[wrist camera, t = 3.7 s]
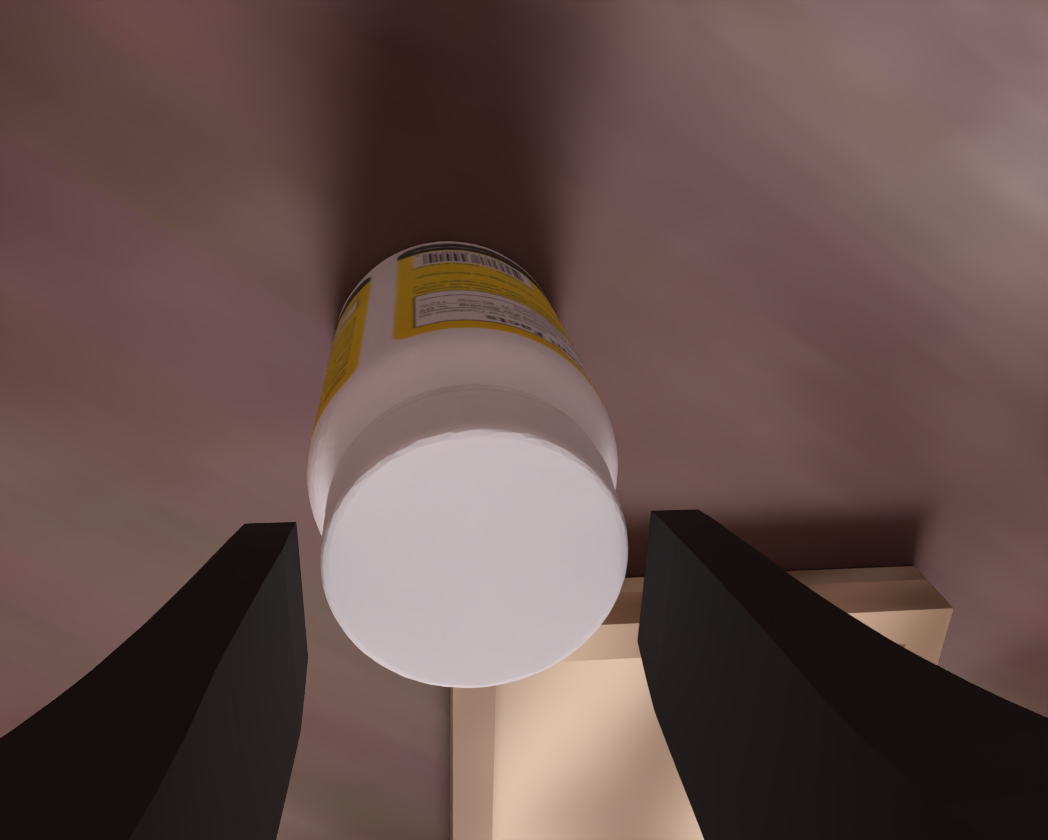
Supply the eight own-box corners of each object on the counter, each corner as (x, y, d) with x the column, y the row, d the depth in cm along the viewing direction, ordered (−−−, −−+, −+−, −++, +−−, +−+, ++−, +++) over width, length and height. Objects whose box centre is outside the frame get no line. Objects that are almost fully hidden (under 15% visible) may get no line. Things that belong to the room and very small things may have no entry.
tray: (914, 566, 23) (953, 608, 21) (831, 886, 28) (858, 940, 26) (449, 585, 21) (452, 632, 20) (450, 919, 26) (452, 979, 25)
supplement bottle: (413, 482, 20) (414, 766, 12) (289, 312, 18) (200, 525, 10) (596, 378, 19) (716, 609, 12) (489, 192, 17) (550, 324, 10)
